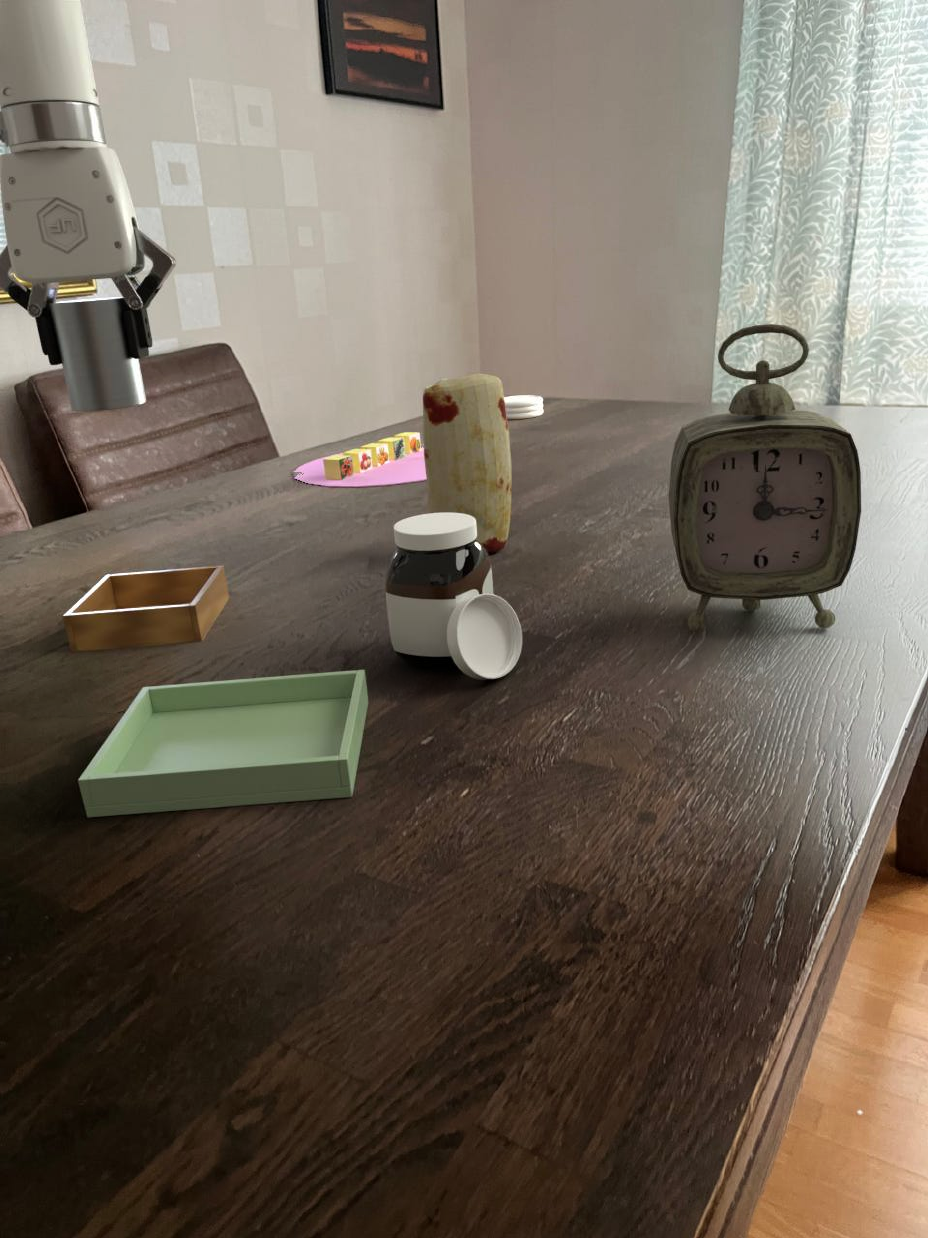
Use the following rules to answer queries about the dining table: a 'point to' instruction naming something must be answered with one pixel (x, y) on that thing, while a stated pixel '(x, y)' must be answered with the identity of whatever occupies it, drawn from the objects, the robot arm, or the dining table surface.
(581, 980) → the dining table surface
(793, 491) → the tabletop clock
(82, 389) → the can
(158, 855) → the dining table surface
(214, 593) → the wooden box
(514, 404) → the white short ridged cylinder
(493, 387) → the food model
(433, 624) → the spread jar
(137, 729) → the tray
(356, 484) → the platter
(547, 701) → the dining table surface
